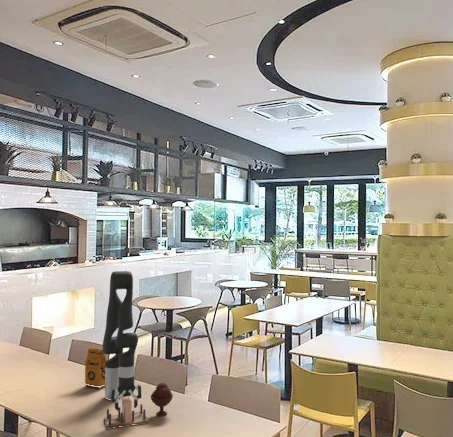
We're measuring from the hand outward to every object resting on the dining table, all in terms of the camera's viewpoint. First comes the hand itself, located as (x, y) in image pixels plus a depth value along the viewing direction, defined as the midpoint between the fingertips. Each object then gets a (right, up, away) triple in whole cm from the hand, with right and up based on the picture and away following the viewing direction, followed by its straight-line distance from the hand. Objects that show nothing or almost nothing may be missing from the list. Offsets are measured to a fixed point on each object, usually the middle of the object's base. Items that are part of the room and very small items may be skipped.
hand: (126, 408), depth 221 cm
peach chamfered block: (0, -5, 0) cm, 5 cm away
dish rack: (0, -6, 0) cm, 6 cm away
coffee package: (-28, -8, +49) cm, 57 cm away
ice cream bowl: (+16, -7, +8) cm, 19 cm away
